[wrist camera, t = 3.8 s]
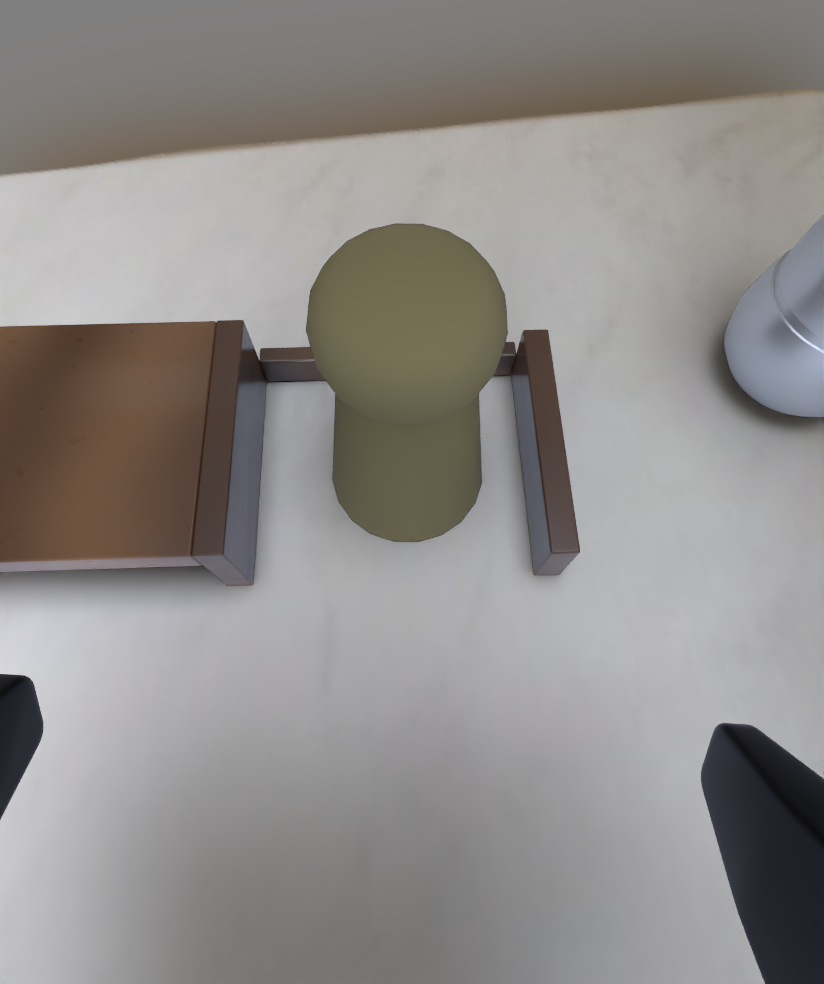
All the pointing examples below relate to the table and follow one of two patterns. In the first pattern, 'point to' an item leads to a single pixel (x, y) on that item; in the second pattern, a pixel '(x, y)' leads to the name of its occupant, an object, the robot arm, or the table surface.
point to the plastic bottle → (783, 331)
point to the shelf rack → (193, 446)
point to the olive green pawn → (407, 374)
